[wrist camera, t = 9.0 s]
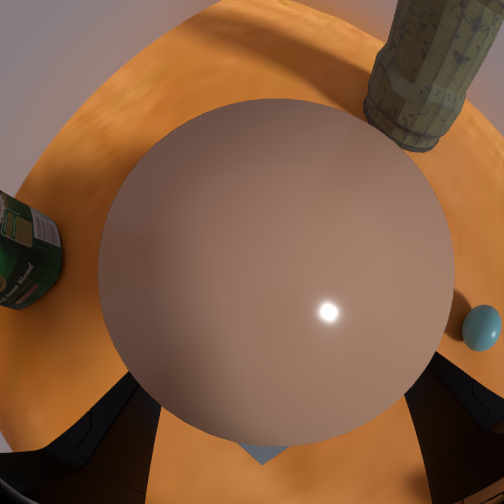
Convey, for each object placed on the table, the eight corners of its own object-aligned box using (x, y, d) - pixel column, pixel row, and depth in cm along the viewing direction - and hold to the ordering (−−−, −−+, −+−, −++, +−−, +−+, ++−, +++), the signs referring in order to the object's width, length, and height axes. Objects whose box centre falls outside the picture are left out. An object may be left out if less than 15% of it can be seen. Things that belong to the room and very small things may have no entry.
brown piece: (308, 378, 16) (394, 474, 3) (201, 341, 17) (56, 346, 4) (342, 272, 17) (455, 156, 5) (239, 239, 19) (189, 82, 6)
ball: (467, 360, 15) (495, 361, 12) (447, 332, 16) (475, 329, 13) (486, 326, 16) (514, 322, 12) (468, 298, 16) (495, 291, 13)
